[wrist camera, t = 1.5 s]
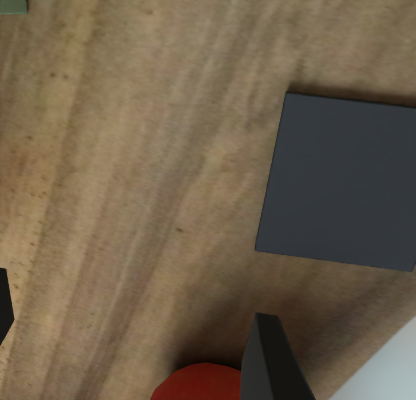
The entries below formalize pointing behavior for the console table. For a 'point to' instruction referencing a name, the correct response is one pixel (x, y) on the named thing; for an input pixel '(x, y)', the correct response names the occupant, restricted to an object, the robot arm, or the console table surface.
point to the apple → (201, 383)
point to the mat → (342, 183)
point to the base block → (13, 7)
